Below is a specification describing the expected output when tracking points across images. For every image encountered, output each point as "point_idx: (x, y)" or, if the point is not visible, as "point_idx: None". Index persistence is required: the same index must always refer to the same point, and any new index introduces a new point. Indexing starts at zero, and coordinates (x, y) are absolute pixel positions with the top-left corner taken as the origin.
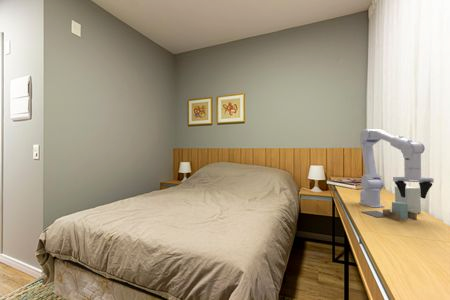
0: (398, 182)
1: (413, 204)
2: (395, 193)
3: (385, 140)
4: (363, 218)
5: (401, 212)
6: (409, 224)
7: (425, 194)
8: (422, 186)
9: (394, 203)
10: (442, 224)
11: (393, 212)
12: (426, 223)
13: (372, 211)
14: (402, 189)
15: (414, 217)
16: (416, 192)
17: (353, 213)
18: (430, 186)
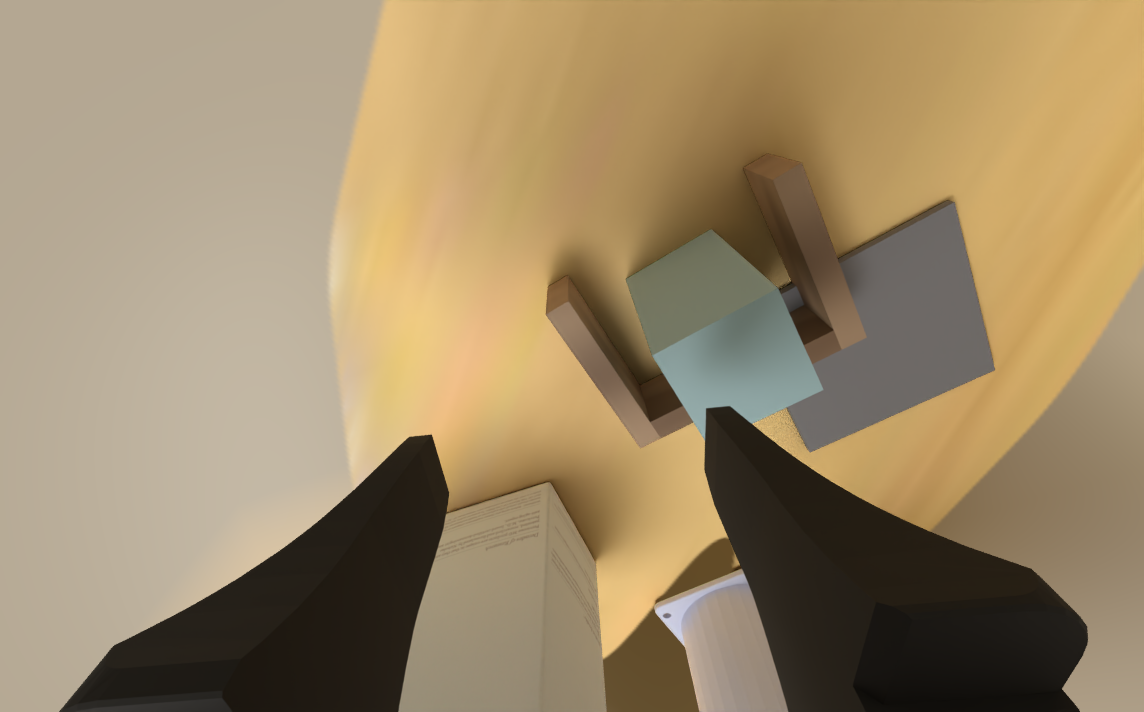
0: (1056, 692)
1: (479, 565)
2: None
3: None
4: (1138, 104)
5: (720, 258)
6: (713, 31)
7: (384, 475)
8: (362, 671)
9: (805, 353)
10: (365, 188)
11: (815, 232)
12: (508, 163)
13: (866, 410)
14: (833, 490)
15: (570, 286)
16: None
17: (1106, 293)
18: (184, 619)
